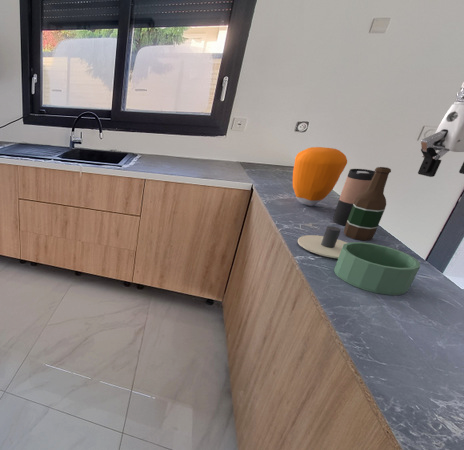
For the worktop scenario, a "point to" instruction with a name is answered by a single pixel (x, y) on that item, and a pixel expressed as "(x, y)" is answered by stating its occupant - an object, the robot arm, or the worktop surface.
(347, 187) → the travel mug
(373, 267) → the green round bowl
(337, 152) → the orange egg-shaped ornament
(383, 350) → the worktop surface
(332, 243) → the lid
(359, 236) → the beer bottle
